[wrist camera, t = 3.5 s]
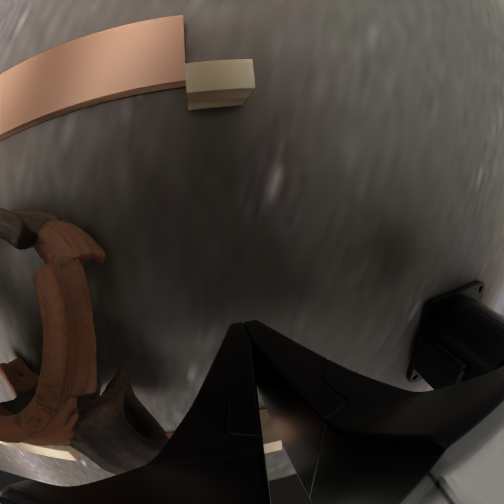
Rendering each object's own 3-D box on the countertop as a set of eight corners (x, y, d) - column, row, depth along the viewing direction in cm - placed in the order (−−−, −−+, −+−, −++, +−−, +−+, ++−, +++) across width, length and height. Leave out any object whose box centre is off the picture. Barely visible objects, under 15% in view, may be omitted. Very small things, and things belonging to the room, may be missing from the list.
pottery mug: (-14, 338, 10) (-106, 334, 3) (60, 214, 13) (-8, 132, 6) (140, 470, 11) (122, 566, 3) (227, 342, 14) (283, 361, 7)
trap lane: (233, 20, 8) (252, -36, 5) (272, 443, 15) (289, 490, 12) (-95, 157, 5) (-131, 164, 1) (9, 439, 12) (-4, 472, 8)
